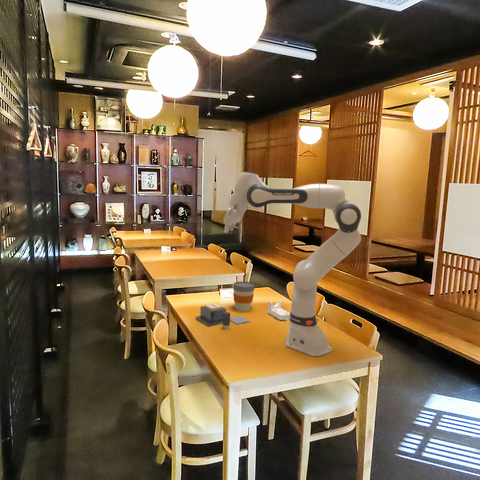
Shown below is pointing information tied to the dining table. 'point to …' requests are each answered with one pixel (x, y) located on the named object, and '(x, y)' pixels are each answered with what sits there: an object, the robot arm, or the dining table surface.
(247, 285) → the reusable coffee cup
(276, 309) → the bracket
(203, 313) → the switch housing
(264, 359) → the dining table surface
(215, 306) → the button
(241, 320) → the rest mat
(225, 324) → the stylus
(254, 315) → the dining table surface
